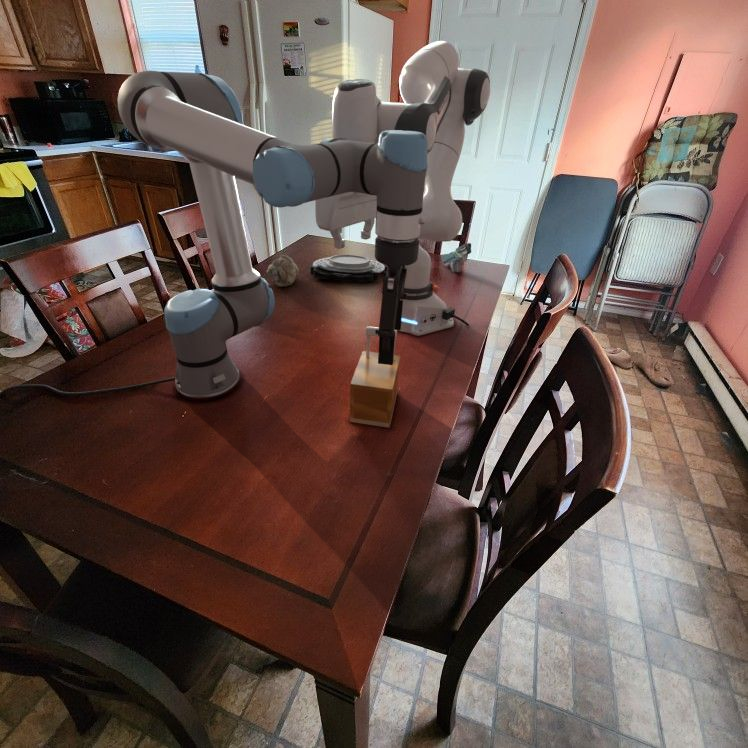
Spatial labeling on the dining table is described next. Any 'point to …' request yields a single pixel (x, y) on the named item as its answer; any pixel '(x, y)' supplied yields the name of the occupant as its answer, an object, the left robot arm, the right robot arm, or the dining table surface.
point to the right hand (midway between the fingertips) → (353, 243)
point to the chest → (372, 405)
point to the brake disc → (347, 268)
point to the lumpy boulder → (283, 271)
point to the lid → (375, 369)
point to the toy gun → (457, 257)
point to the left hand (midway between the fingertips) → (390, 345)
